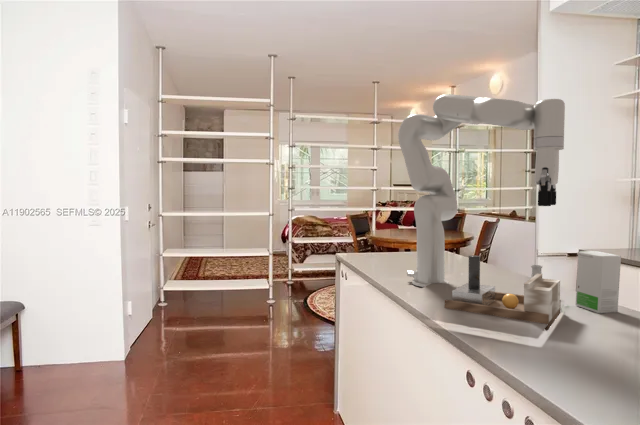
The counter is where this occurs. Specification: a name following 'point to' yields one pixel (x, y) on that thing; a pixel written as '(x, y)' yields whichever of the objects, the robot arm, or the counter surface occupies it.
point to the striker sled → (474, 287)
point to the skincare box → (598, 281)
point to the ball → (510, 301)
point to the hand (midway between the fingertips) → (547, 205)
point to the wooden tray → (522, 303)
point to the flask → (536, 270)
